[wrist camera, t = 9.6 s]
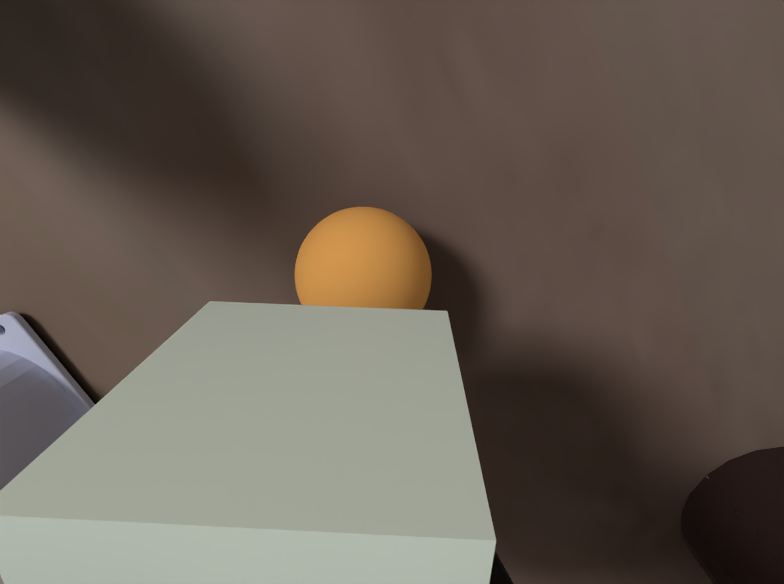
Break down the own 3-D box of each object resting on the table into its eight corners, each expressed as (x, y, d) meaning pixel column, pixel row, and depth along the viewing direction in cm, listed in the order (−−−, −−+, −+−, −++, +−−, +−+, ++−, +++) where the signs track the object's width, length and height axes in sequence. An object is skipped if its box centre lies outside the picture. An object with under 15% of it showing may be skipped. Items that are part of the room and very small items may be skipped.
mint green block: (423, 594, 15) (434, 917, 9) (247, 585, 15) (140, 896, 9) (447, 310, 11) (495, 540, 5) (209, 301, 11) (-27, 514, 5)
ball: (327, 231, 12) (354, 155, 16) (252, 328, 15) (290, 244, 18) (463, 317, 14) (458, 230, 17) (372, 389, 16) (385, 301, 20)
